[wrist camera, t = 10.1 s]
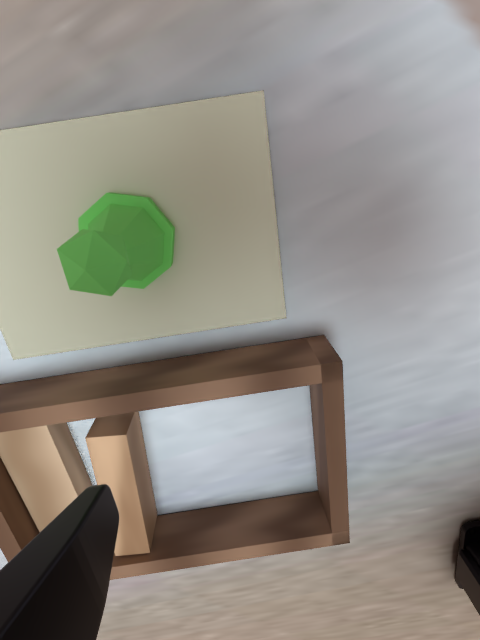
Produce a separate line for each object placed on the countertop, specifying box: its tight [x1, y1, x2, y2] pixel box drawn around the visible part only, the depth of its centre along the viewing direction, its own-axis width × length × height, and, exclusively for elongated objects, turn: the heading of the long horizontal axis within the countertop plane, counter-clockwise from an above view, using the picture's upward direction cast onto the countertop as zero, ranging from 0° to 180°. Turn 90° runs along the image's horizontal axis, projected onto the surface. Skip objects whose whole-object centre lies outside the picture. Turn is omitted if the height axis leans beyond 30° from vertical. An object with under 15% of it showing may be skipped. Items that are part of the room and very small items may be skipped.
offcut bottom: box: [0, 422, 93, 532], centre depth 21 cm, size 3×9×2 cm, turn 9°
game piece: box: [57, 192, 175, 296], centre depth 13 cm, size 4×4×6 cm
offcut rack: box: [0, 335, 350, 580], centre depth 20 cm, size 19×12×3 cm, turn 98°
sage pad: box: [0, 90, 286, 360], centre depth 16 cm, size 14×10×1 cm
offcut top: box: [86, 411, 157, 556], centre depth 20 cm, size 3×8×2 cm
